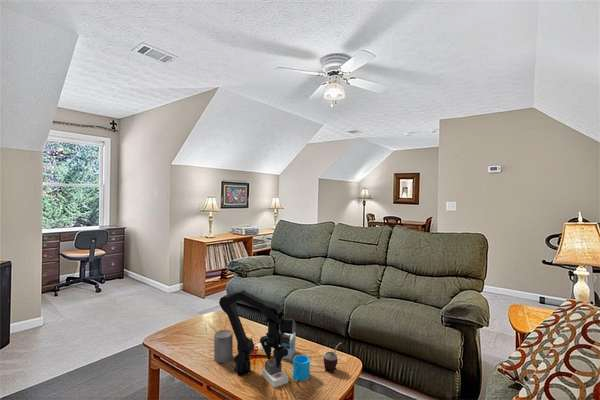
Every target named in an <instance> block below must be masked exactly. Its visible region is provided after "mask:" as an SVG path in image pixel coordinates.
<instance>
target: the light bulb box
mask: <svg viewBox="0 0 600 400" xmlns="http://www.w3.org/2000/svg"><path fill="white" fill-rule="evenodd" d="M284 334H286V335H288V336H289V337H290V341H289V344H285V343H282V345H279V347H282V346H284V347H285V348H286V349H287V350H288V355H287V356H284V357H283V358H282V360H284V359H285V360H293V358H294V354H295V352H296V337H297V335H296V331H295V332H294V334H287V333H284Z"/></svg>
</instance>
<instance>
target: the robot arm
mask: <svg viewBox="0 0 600 400" xmlns="http://www.w3.org/2000/svg"><path fill="white" fill-rule="evenodd" d="M238 301H241V302H243V303H246V304H248V305H249V306H251V307H253V308H255V309H257V310H258V311H260V312H262V314H263V315H264V316H265V317H266V318H265V319H264V320H263V322H264V323H267V332H266V335H263V336H261V337H260V339H259V343H260V345H261V347H262V349H263V351H264V353H265V356H266V358H267V360H271V355H272V356H273V359H274V360H275V364H276V367H277V368H279V366H280V363H282V360H283V357H284V356H287V355H288V350H287V349H286V348H285V347H284V346H282V347H280V345H282V343H285V344H289V341H290V337H289V336H288V335H286V334H284V333H287V334H294V332H296V325H297V324H296V322H295V318H286V315H285V313H284V312H283V311H282V307H281V305H280V304H279V303H275V302H273V301H265V300H263V299H261V298H259V297H257V296H255V295H253V294H251V293H249V292H247V291H246V290H245V289H241V290H239V291H236V292H234V293H230V292H229V293H227V294H226V295H224V296H222V297H221V298H220V299H219V302H218V304H219V306H220V309H221V310H222V311H223V312H224V313H225V314H226V316H227V318H228V320H229V324H230V326H231V328H232V330H233V331H232V332H233V333H234V336H235V339H236V342H237V343H236V344H237V347H236V348H237V349H236V350H237V354H236V355H235V356H233V357H234V358H233V361H234V363H235V368H234V369H233V371H234V372H235V373H236V374H237V376H239V377H240V376H244V375H248V374H250V373H252V370H251V359H250V356H251V355H252V354H253V353H254V352H255V344H254V342H253V338H250V339H249V338H248V336H247V335H246V332H245V329H244V326H243V324H242V321H241V319H240V316H239V314H238V311H237V302H238ZM272 349H273V351H272ZM272 352H273V353H272Z"/></svg>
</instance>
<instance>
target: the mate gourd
mask: <svg viewBox="0 0 600 400" xmlns="http://www.w3.org/2000/svg"><path fill="white" fill-rule="evenodd" d="M341 344H343V342H339V343H338V344H336V346H335V349H334V352H333V351H327V352H325V354H324V355H323V365H324V372H329V371H330V372H331V373H332V374H334V373H335V371H334V370H336V369H337V368H336V367H337V365H338V362H339V361H338V356H337V354H336V351H337V349H338V347H339V346H340V345H341Z"/></svg>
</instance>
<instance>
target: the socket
mask: <svg viewBox="0 0 600 400" xmlns="http://www.w3.org/2000/svg"><path fill="white" fill-rule="evenodd" d="M261 373H262V374H261V375H262V377H263V378H265V380H266V381H267V382H268V383H269V384H270V385H271V387H272V388H274V389H275V388H277V387H279V386H280V387H281V386H282V385H286V384H288V383H289V376H288V374H286V373H285V371H283V370H282V371H281V372H278V373H275V374H272V375H269V374H268V373H267V371H266V370H265V367H264V368H262V371H261Z"/></svg>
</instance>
